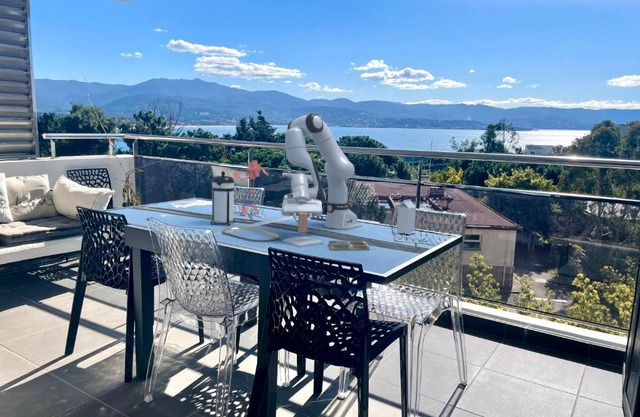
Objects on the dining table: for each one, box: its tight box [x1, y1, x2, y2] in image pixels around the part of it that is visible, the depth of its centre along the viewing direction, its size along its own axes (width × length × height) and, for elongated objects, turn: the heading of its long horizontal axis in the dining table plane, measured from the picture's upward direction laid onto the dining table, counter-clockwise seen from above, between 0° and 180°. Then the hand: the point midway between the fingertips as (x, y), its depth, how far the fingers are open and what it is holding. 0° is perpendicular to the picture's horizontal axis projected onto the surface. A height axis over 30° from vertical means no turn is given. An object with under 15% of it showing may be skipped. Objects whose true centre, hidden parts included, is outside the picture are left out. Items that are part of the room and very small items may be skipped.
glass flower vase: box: [233, 160, 269, 218], centre depth 310 cm, size 15×26×35 cm, turn 140°
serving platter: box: [222, 226, 280, 242], centre depth 255 cm, size 19×35×2 cm, turn 47°
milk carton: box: [396, 198, 417, 234], centre depth 272 cm, size 7×7×19 cm
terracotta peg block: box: [297, 213, 309, 233], centre depth 239 cm, size 4×4×9 cm
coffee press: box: [210, 171, 236, 226], centre depth 281 cm, size 17×16×30 cm
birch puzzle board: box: [327, 240, 370, 251], centre depth 235 cm, size 9×18×3 cm, turn 99°
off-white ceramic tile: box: [282, 236, 324, 248], centre depth 242 cm, size 14×14×1 cm
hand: (303, 221), depth 239 cm, fingers closed on terracotta peg block, 4 cm apart
